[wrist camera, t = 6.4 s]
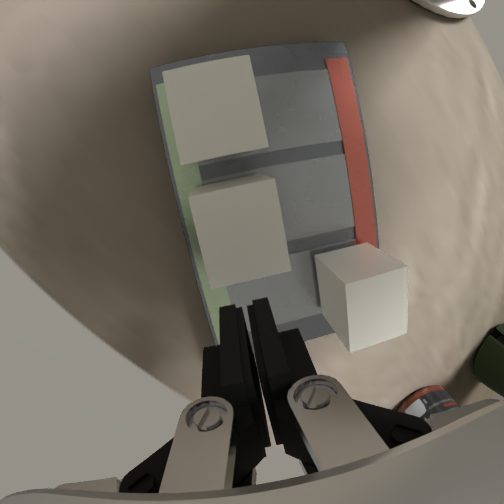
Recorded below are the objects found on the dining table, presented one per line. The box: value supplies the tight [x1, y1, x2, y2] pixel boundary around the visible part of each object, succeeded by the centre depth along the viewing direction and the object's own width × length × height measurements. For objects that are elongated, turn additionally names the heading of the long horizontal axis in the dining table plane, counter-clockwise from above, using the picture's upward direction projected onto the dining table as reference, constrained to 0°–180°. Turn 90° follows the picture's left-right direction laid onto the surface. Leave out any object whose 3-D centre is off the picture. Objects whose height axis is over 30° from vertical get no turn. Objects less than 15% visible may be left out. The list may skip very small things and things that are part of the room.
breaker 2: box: [188, 174, 291, 289], centre depth 13 cm, size 3×3×4 cm
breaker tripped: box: [314, 242, 408, 353], centre depth 15 cm, size 3×3×4 cm
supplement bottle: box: [397, 385, 460, 420], centre depth 18 cm, size 6×6×11 cm
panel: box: [149, 42, 379, 354], centre depth 16 cm, size 10×16×2 cm, turn 11°
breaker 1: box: [162, 55, 269, 165], centre depth 12 cm, size 3×3×4 cm
